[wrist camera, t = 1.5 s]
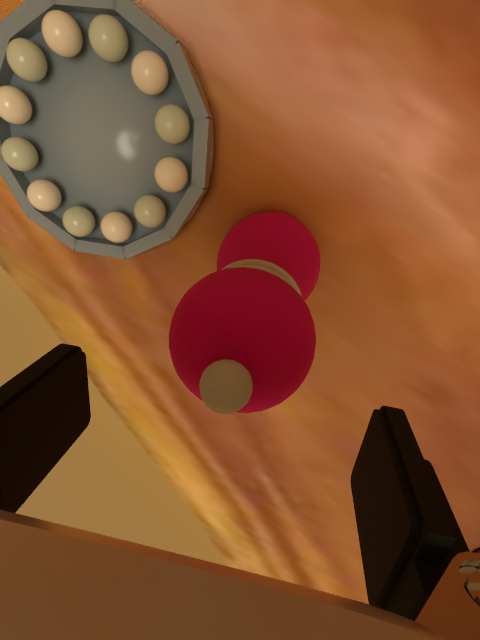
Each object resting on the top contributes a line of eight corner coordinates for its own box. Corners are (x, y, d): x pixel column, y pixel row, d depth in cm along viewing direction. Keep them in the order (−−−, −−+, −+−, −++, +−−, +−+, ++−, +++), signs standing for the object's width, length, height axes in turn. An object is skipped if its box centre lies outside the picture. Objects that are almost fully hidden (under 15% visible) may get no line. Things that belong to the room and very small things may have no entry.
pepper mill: (292, 305, 30) (274, 515, 12) (217, 269, 30) (90, 431, 12) (334, 228, 27) (393, 364, 9) (251, 188, 27) (144, 247, 9)
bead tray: (-12, -8, 24) (-60, -34, 21) (225, 11, 23) (211, -13, 19) (26, 234, 32) (-5, 242, 29) (206, 263, 30) (194, 275, 27)
